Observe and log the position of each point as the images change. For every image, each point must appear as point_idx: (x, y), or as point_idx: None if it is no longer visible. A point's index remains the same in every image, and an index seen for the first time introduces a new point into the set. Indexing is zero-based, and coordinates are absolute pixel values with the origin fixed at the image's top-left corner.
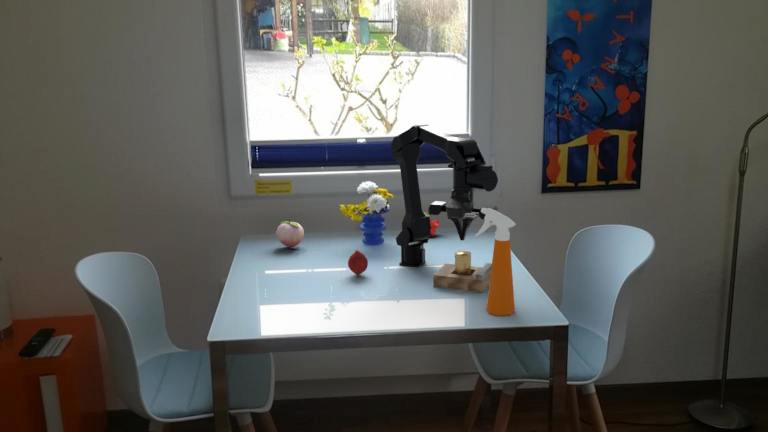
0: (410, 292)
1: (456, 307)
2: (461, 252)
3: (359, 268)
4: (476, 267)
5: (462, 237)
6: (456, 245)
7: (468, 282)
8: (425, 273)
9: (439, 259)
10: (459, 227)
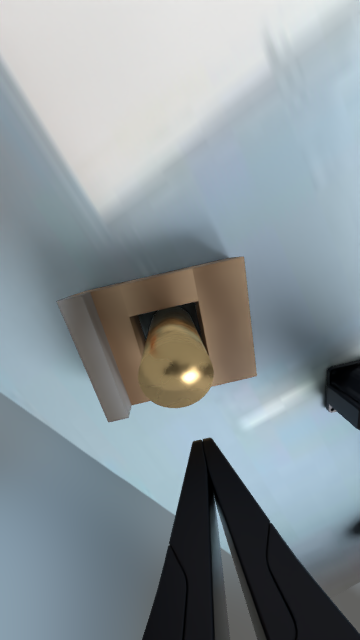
0: (269, 169)
1: (67, 115)
2: (187, 379)
3: None
4: None
5: (199, 457)
6: (300, 512)
7: (119, 284)
8: (293, 340)
9: (300, 435)
10: (249, 566)
